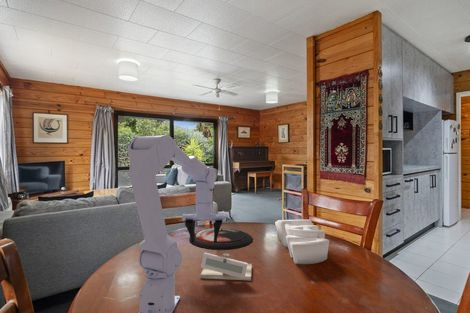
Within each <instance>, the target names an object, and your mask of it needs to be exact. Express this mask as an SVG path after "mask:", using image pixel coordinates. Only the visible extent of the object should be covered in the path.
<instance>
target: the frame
mask: <svg viewBox="0 0 470 313" xmlns="http://www.w3.org/2000/svg"><path fill="white" fill-rule="evenodd" d="M247 264H249V263H248V262H245V261H241V260H237V259H233V258H230V257H229V258H225V257H223V256H221V255H216V254H214V253H209V252H203V255H202V260H201V265H200V268H201V269H204V268H205V269H209V270H213V271H217V272H220V273H224V274H228V275H232V276H236V277H240V278H245V274H246V269H247Z"/></svg>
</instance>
